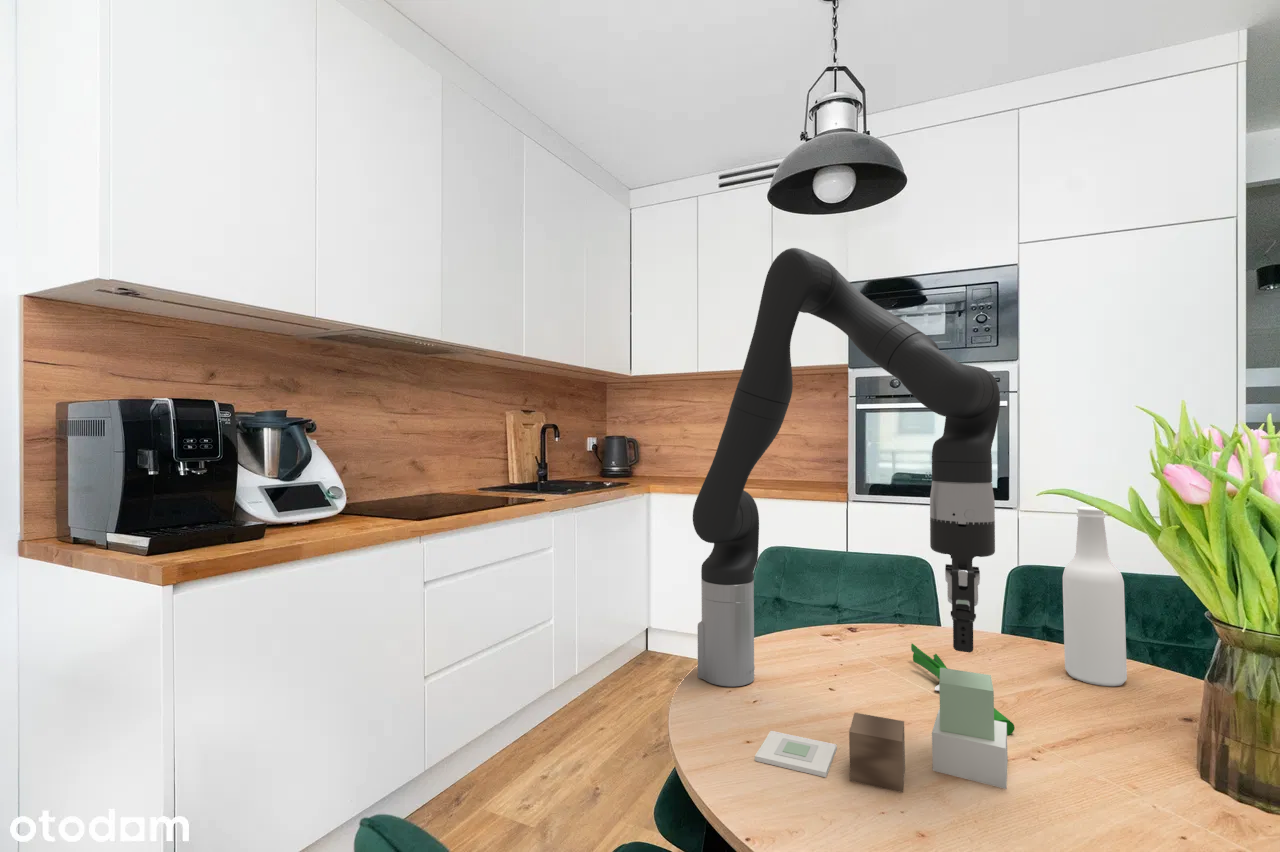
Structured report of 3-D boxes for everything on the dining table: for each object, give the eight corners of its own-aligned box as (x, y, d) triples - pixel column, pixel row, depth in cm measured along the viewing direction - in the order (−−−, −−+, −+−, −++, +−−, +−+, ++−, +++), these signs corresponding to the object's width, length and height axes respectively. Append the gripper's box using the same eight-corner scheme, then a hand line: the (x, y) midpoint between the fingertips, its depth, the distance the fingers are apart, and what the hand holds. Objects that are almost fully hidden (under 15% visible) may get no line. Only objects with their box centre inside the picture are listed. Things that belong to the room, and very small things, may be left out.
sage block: (940, 730, 78) (939, 682, 78) (940, 712, 83) (940, 667, 83) (994, 740, 75) (993, 691, 75) (991, 721, 80) (990, 675, 80)
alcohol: (1108, 670, 111) (1103, 505, 113) (1139, 689, 103) (1133, 510, 104) (1055, 667, 113) (1051, 504, 114) (1081, 685, 104) (1076, 509, 105)
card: (754, 760, 80) (754, 754, 80) (771, 734, 87) (770, 729, 87) (826, 777, 75) (825, 770, 75) (836, 749, 83) (836, 742, 83)
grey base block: (932, 772, 77) (931, 732, 77) (939, 746, 84) (938, 709, 84) (1006, 791, 73) (1005, 748, 73) (1007, 761, 80) (1006, 722, 80)
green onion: (1018, 741, 87) (924, 657, 117) (1018, 718, 87) (924, 640, 117) (983, 742, 87) (898, 657, 117) (983, 719, 87) (898, 640, 117)
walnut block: (849, 781, 75) (849, 731, 75) (855, 758, 80) (854, 712, 80) (903, 793, 72) (902, 741, 72) (904, 769, 78) (904, 721, 78)
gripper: (931, 509, 88) (932, 623, 88) (928, 520, 76) (929, 653, 75) (991, 512, 85) (992, 630, 84) (998, 524, 72) (999, 663, 72)
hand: (962, 641), depth 80 cm, fingers open, 8 cm apart
